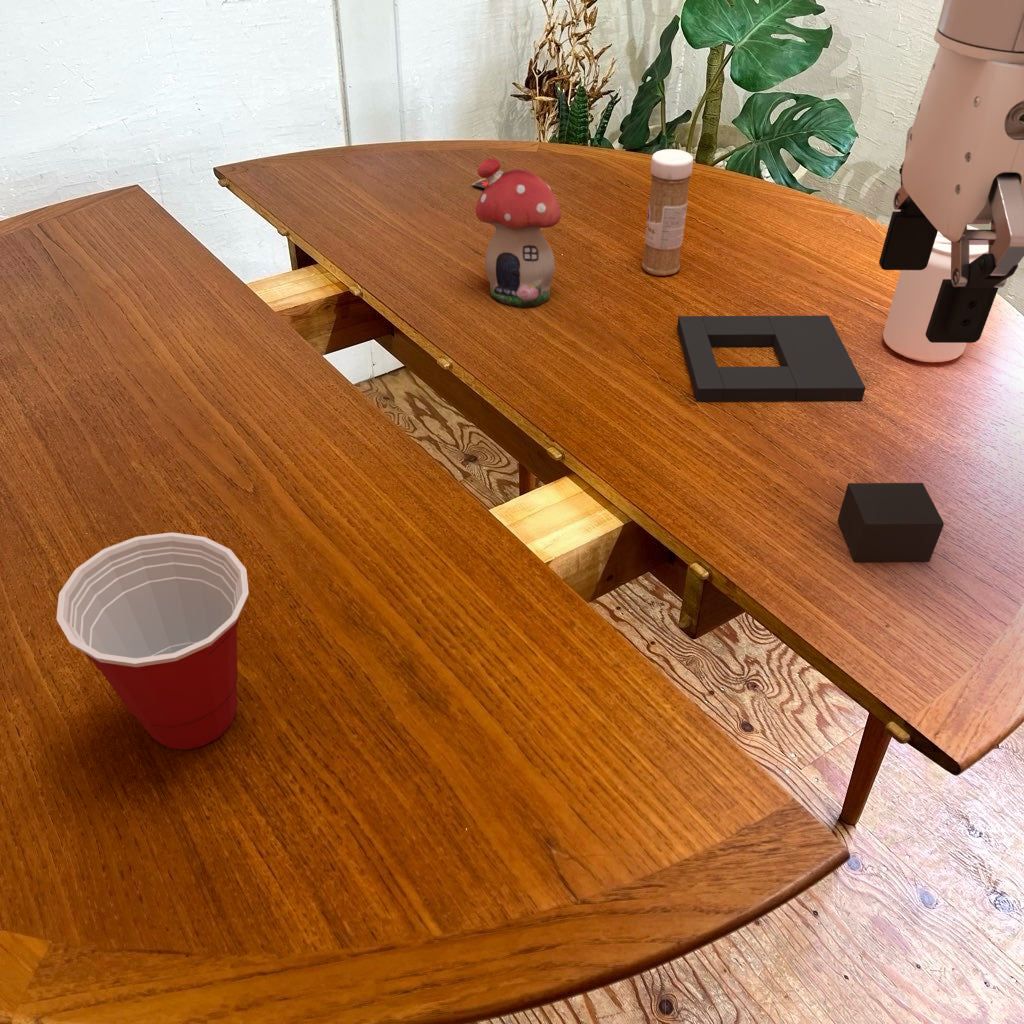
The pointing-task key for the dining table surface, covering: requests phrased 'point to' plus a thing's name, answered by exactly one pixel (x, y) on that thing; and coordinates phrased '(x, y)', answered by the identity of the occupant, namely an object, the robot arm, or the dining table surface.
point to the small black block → (889, 522)
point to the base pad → (799, 348)
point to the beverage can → (923, 306)
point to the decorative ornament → (517, 234)
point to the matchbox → (481, 183)
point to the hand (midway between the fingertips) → (924, 302)
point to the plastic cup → (162, 631)
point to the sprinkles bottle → (667, 211)
